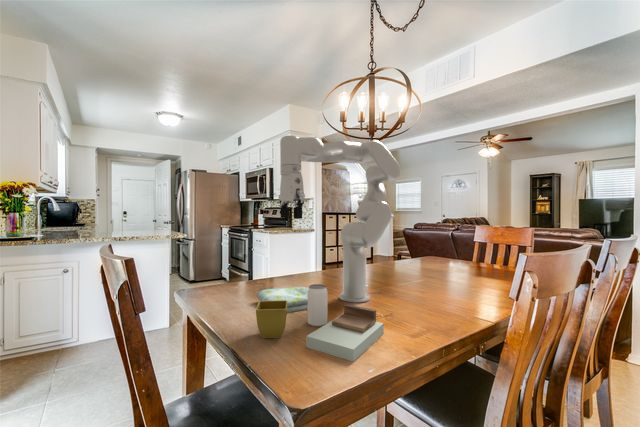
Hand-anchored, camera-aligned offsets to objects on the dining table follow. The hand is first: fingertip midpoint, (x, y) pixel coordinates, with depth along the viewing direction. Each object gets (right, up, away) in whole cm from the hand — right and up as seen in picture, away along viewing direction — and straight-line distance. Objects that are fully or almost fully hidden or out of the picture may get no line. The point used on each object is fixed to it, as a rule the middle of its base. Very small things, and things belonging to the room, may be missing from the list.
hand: (291, 218), depth 109 cm
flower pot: (-4, -34, -21) cm, 40 cm away
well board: (+18, -34, -24) cm, 45 cm away
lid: (+21, -31, -20) cm, 42 cm away
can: (+10, -34, -11) cm, 37 cm away
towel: (-1, -34, +9) cm, 35 cm away
